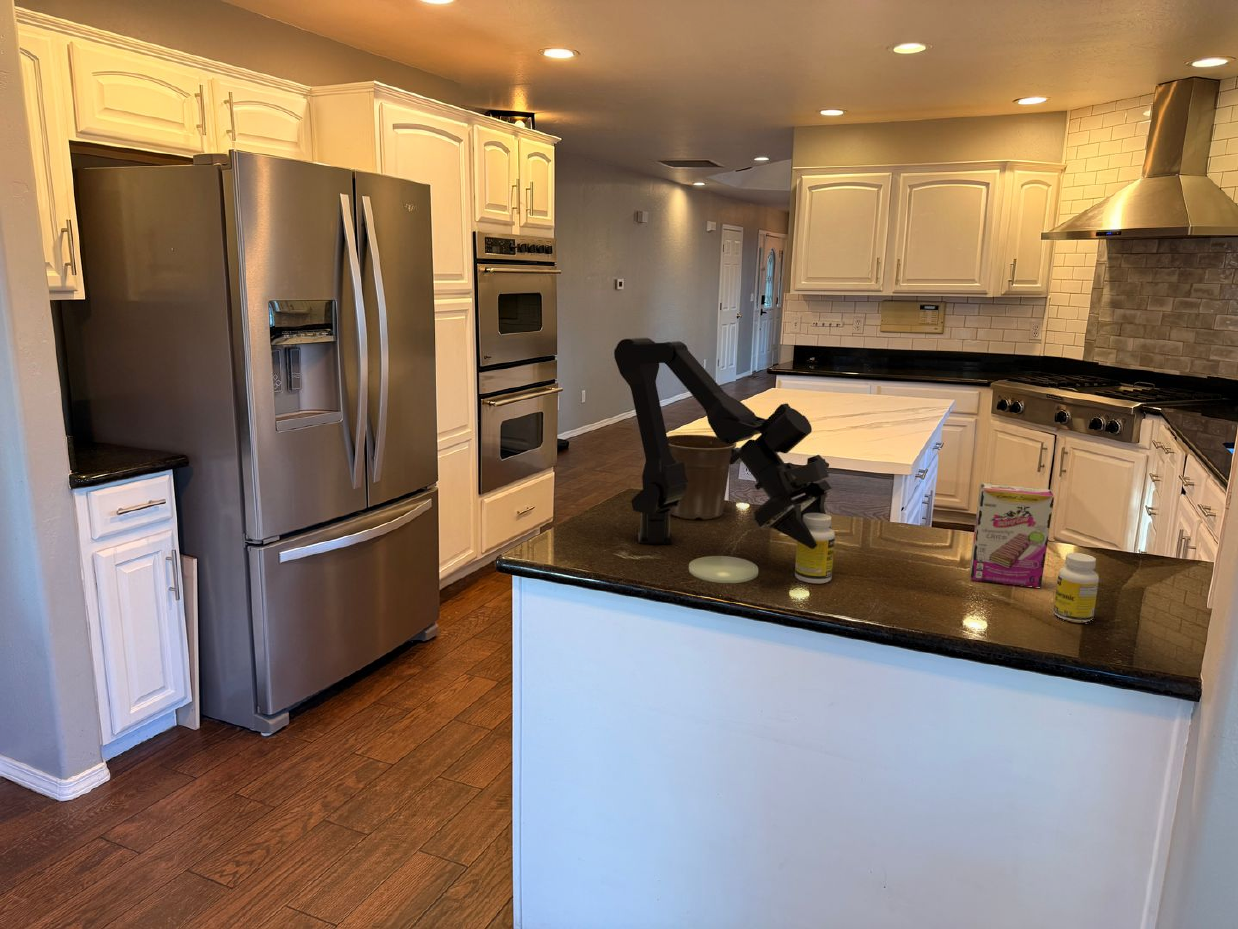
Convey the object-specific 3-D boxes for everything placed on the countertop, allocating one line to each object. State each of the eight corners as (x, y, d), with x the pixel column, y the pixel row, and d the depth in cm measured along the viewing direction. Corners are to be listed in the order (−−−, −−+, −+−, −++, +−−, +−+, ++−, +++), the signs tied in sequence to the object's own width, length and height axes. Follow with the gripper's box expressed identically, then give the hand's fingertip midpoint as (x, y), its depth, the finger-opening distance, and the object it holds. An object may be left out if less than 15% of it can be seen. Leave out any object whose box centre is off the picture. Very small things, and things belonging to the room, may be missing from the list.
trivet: (685, 559, 151) (686, 555, 151) (751, 560, 151) (752, 556, 151) (692, 582, 139) (692, 578, 139) (763, 583, 139) (763, 579, 139)
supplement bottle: (1045, 611, 130) (1053, 551, 128) (1078, 610, 130) (1086, 550, 128) (1066, 625, 124) (1075, 562, 122) (1100, 624, 125) (1110, 562, 123)
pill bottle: (832, 586, 139) (837, 522, 137) (794, 583, 140) (798, 519, 138) (830, 574, 145) (835, 512, 142) (794, 571, 146) (798, 510, 144)
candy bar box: (970, 581, 142) (980, 488, 139) (968, 572, 147) (978, 482, 143) (1042, 590, 139) (1055, 495, 135) (1038, 580, 143) (1050, 488, 140)
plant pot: (745, 511, 185) (748, 439, 181) (713, 527, 171) (716, 451, 168) (680, 500, 193) (682, 431, 190) (645, 515, 180) (646, 441, 176)
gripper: (774, 449, 133) (834, 528, 128) (824, 434, 147) (880, 505, 143) (729, 489, 139) (785, 566, 135) (781, 471, 153) (833, 540, 149)
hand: (823, 543), depth 140 cm, fingers closed on pill bottle, 6 cm apart
